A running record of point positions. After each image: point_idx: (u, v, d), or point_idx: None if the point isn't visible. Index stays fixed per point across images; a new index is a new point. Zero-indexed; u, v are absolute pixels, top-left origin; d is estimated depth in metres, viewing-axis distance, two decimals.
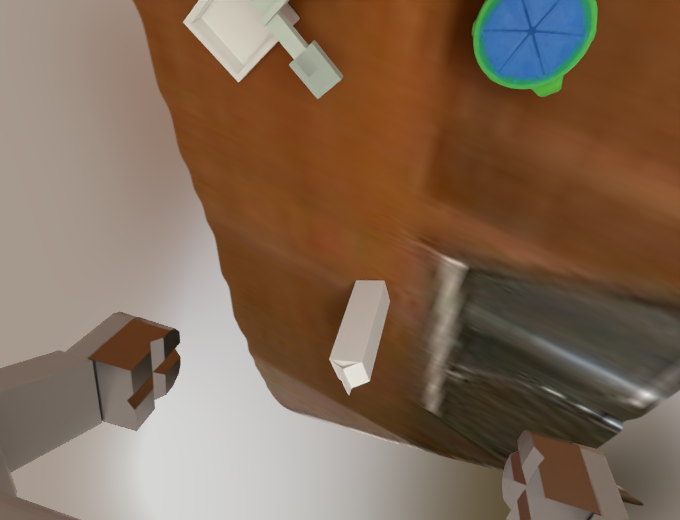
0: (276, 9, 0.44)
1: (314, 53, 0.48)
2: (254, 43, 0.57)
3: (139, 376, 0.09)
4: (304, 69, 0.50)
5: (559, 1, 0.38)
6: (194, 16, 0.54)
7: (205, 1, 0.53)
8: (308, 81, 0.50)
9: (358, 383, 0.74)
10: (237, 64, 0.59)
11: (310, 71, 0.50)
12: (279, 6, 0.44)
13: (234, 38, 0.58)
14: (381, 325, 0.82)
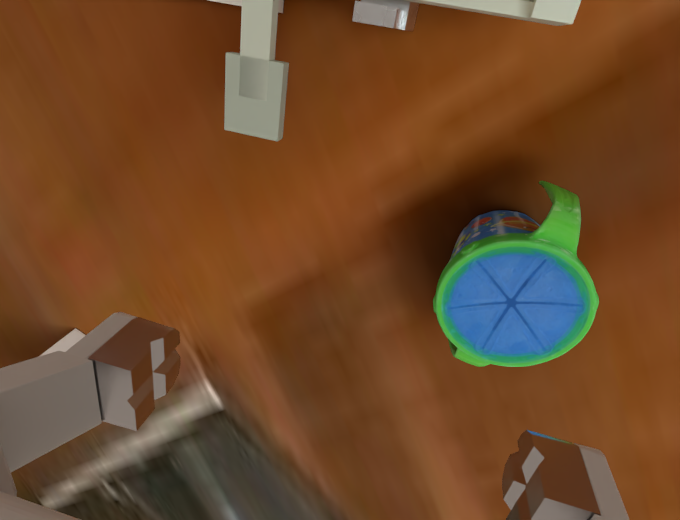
0: None
1: (274, 78, 0.28)
2: None
3: (139, 376, 0.09)
4: (242, 80, 0.28)
5: (559, 304, 0.29)
6: None
7: None
8: (233, 98, 0.29)
9: None
10: None
11: (247, 92, 0.29)
12: None
13: None
14: None
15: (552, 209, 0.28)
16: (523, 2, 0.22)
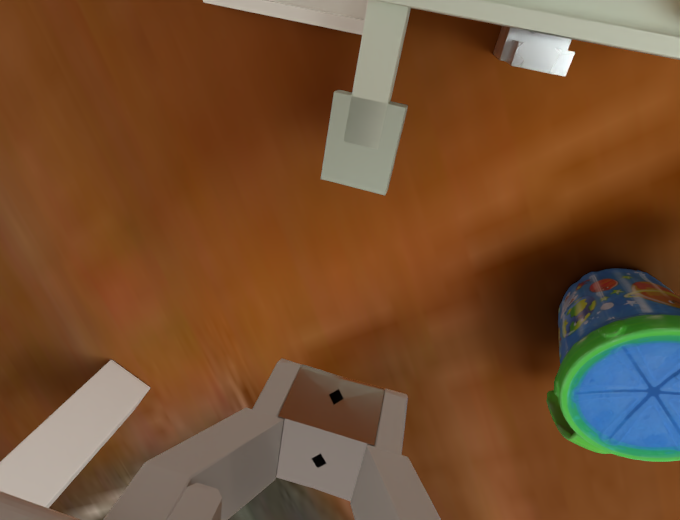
0: (428, 5, 0.19)
1: (391, 124, 0.23)
2: None
3: None
4: (350, 124, 0.24)
5: None
6: None
7: None
8: (336, 144, 0.25)
9: None
10: None
11: (355, 138, 0.24)
12: (438, 8, 0.19)
13: None
14: (96, 452, 0.49)
15: None
16: None
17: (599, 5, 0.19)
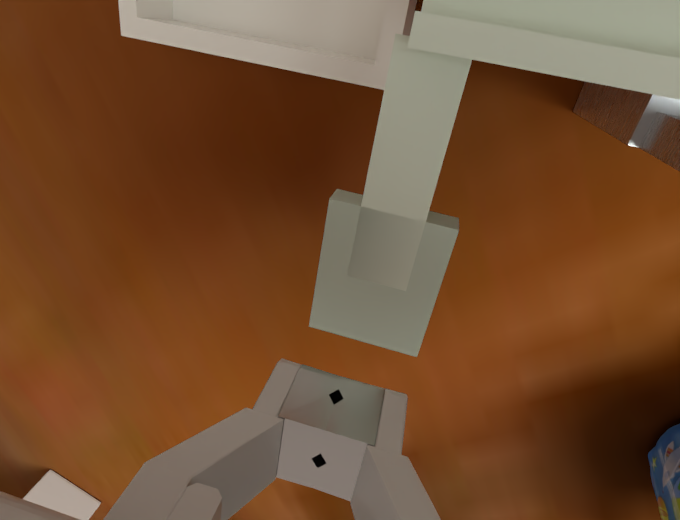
0: (528, 61, 0.09)
1: (430, 255, 0.13)
2: (247, 5, 0.19)
3: None
4: (358, 251, 0.14)
5: None
6: None
7: None
8: (334, 279, 0.14)
9: None
10: None
11: (367, 271, 0.14)
12: (550, 66, 0.09)
13: None
14: None
15: None
16: None
17: None
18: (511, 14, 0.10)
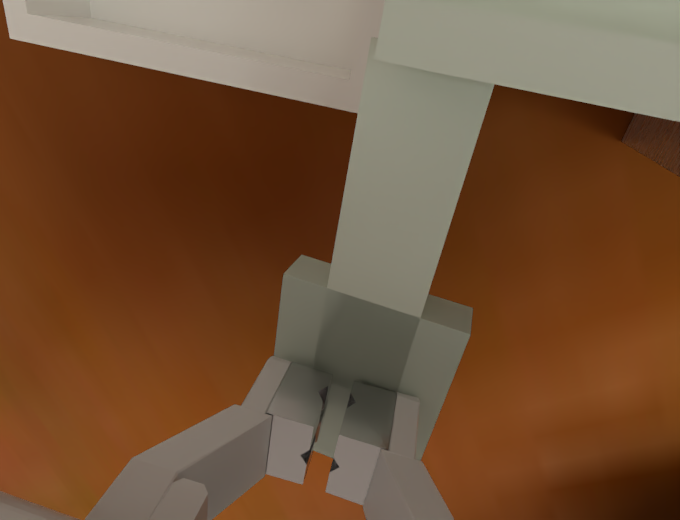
0: (598, 88, 0.05)
1: (428, 363, 0.09)
2: None
3: (314, 430, 0.08)
4: (325, 346, 0.10)
5: None
6: None
7: None
8: None
9: None
10: None
11: (340, 374, 0.10)
12: (643, 99, 0.05)
13: None
14: None
15: None
16: None
17: None
18: (567, 3, 0.06)
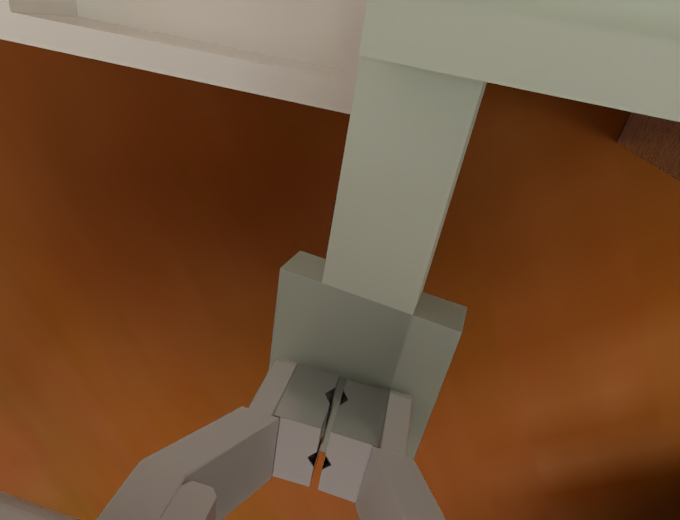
0: (576, 83, 0.05)
1: (420, 360, 0.09)
2: None
3: (321, 432, 0.08)
4: (320, 341, 0.10)
5: None
6: None
7: None
8: None
9: None
10: None
11: (334, 369, 0.10)
12: (620, 94, 0.05)
13: None
14: None
15: None
16: None
17: None
18: (554, 1, 0.06)
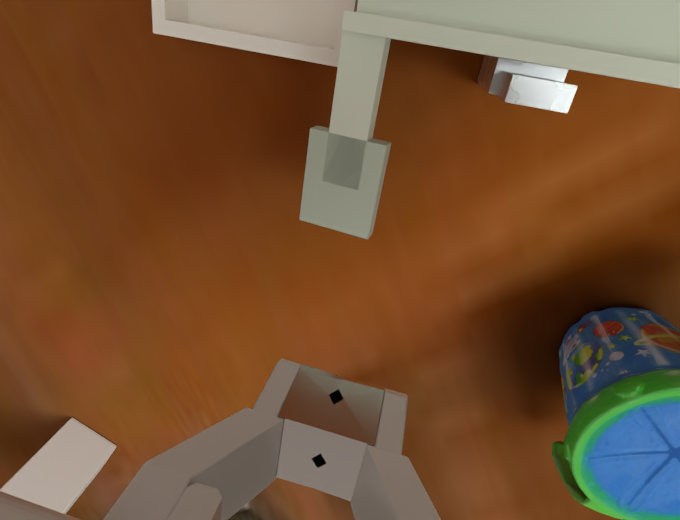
0: (402, 35, 0.17)
1: (371, 163, 0.21)
2: (243, 11, 0.26)
3: None
4: (328, 163, 0.22)
5: None
6: None
7: None
8: (314, 183, 0.23)
9: None
10: (179, 4, 0.26)
11: (334, 177, 0.22)
12: (413, 37, 0.17)
13: None
14: None
15: None
16: None
17: (601, 32, 0.16)
18: (403, 12, 0.18)
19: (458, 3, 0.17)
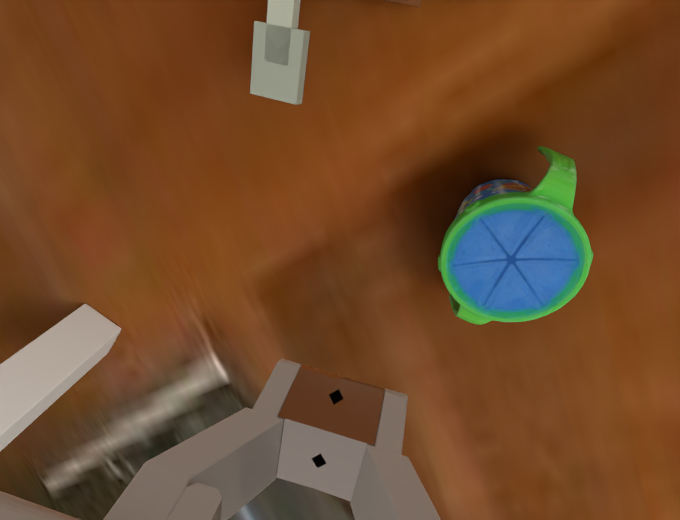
0: None
1: (295, 45, 0.31)
2: None
3: None
4: (267, 47, 0.31)
5: (556, 260, 0.31)
6: None
7: None
8: (259, 64, 0.32)
9: None
10: None
11: (272, 57, 0.32)
12: None
13: None
14: (71, 383, 0.55)
15: (550, 168, 0.30)
16: None
17: None
18: None
19: None
